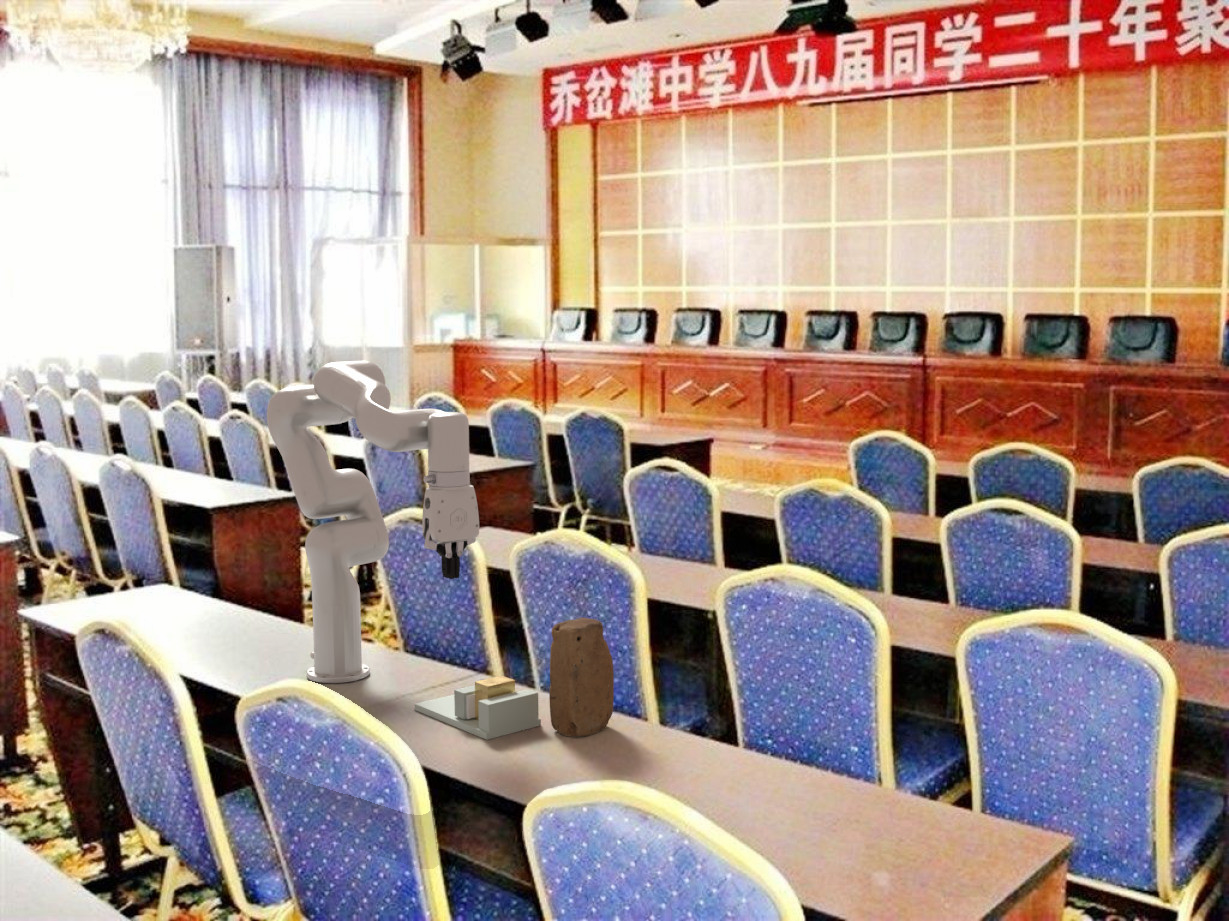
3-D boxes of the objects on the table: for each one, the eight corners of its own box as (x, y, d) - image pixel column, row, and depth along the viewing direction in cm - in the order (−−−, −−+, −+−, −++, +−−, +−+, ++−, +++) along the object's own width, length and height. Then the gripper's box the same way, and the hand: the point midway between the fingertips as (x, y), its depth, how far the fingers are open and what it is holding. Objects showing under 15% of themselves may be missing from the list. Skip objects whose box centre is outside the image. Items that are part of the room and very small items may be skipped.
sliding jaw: (454, 715, 251) (454, 689, 251) (499, 704, 258) (499, 679, 257) (466, 720, 248) (465, 694, 248) (511, 708, 255) (510, 683, 254)
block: (570, 741, 241) (570, 629, 239) (545, 731, 247) (544, 621, 244) (619, 729, 248) (619, 619, 245) (593, 719, 254) (593, 612, 251)
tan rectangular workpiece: (475, 719, 250) (474, 681, 249) (502, 712, 254) (501, 675, 253) (488, 724, 247) (487, 686, 246) (515, 717, 251) (514, 680, 250)
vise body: (414, 709, 260) (413, 677, 259) (467, 697, 267) (466, 666, 267) (486, 739, 242) (486, 705, 242) (540, 725, 250) (540, 692, 249)
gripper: (426, 485, 247) (428, 586, 250) (494, 477, 257) (495, 575, 259) (403, 481, 253) (405, 579, 255) (470, 473, 263) (472, 568, 265)
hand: (450, 577), depth 257 cm, fingers closed
